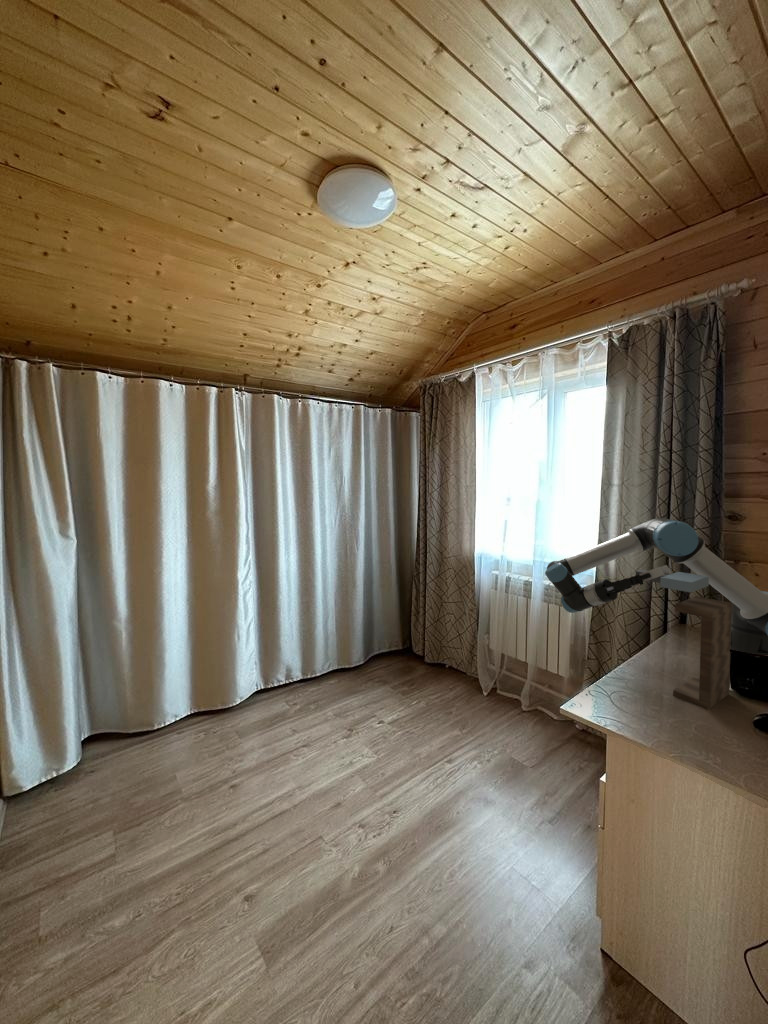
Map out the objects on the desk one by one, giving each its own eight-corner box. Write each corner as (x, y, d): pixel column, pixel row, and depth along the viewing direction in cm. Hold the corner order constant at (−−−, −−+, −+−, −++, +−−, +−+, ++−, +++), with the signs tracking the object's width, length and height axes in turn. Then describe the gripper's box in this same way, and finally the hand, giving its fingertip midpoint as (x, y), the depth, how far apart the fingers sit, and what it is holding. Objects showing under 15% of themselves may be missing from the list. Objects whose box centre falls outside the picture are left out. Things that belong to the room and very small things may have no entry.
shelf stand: (693, 681, 128) (695, 596, 126) (728, 694, 120) (732, 603, 118) (673, 695, 120) (675, 604, 118) (709, 709, 113) (712, 612, 111)
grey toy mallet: (647, 575, 136) (647, 567, 136) (708, 586, 122) (708, 576, 121) (629, 581, 130) (629, 572, 130) (691, 592, 115) (691, 582, 115)
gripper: (618, 598, 147) (683, 577, 129) (592, 606, 138) (658, 585, 120) (608, 579, 150) (671, 555, 132) (582, 586, 141) (645, 562, 123)
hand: (664, 570), depth 126 cm, fingers closed on grey toy mallet, 4 cm apart
